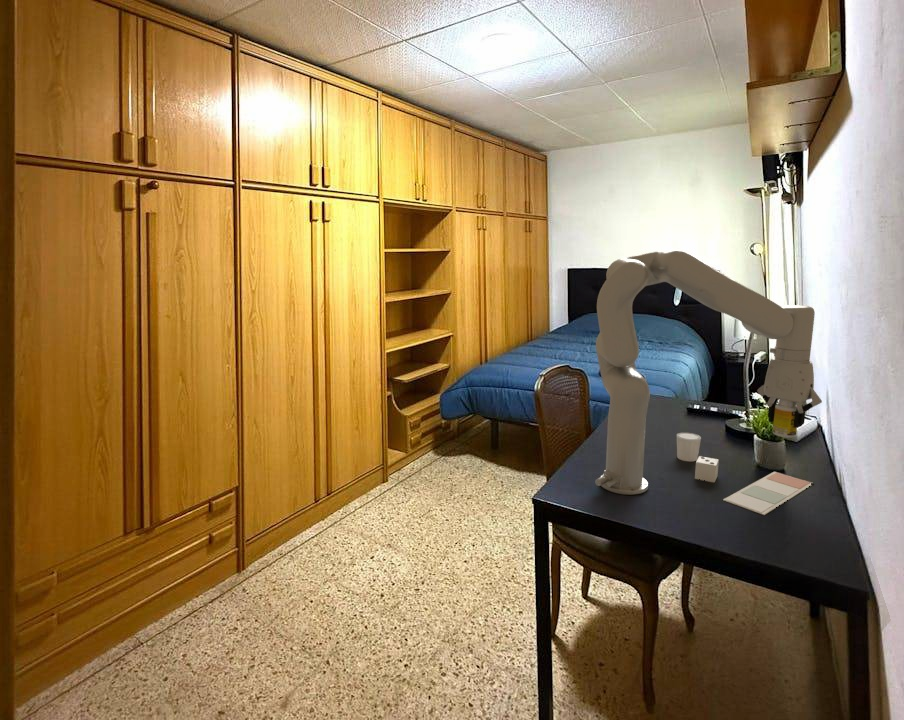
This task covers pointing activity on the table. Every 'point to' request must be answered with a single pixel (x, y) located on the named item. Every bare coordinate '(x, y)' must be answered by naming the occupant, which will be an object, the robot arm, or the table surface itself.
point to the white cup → (688, 446)
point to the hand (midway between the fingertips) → (785, 423)
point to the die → (706, 469)
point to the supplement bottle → (784, 418)
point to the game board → (768, 492)
